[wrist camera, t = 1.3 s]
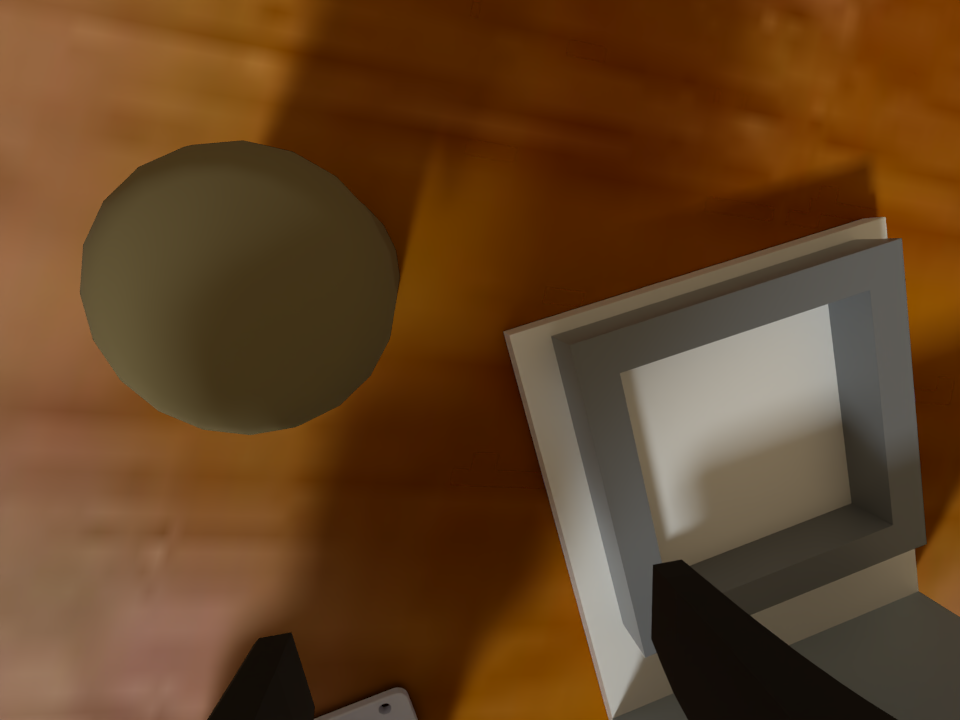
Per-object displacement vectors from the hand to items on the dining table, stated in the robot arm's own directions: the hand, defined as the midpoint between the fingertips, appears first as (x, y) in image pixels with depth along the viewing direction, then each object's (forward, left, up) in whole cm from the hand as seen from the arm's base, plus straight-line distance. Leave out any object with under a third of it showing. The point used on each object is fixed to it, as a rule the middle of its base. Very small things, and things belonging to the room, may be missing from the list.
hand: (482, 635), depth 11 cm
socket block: (+12, -5, -11) cm, 17 cm away
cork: (-2, +8, -11) cm, 13 cm away
